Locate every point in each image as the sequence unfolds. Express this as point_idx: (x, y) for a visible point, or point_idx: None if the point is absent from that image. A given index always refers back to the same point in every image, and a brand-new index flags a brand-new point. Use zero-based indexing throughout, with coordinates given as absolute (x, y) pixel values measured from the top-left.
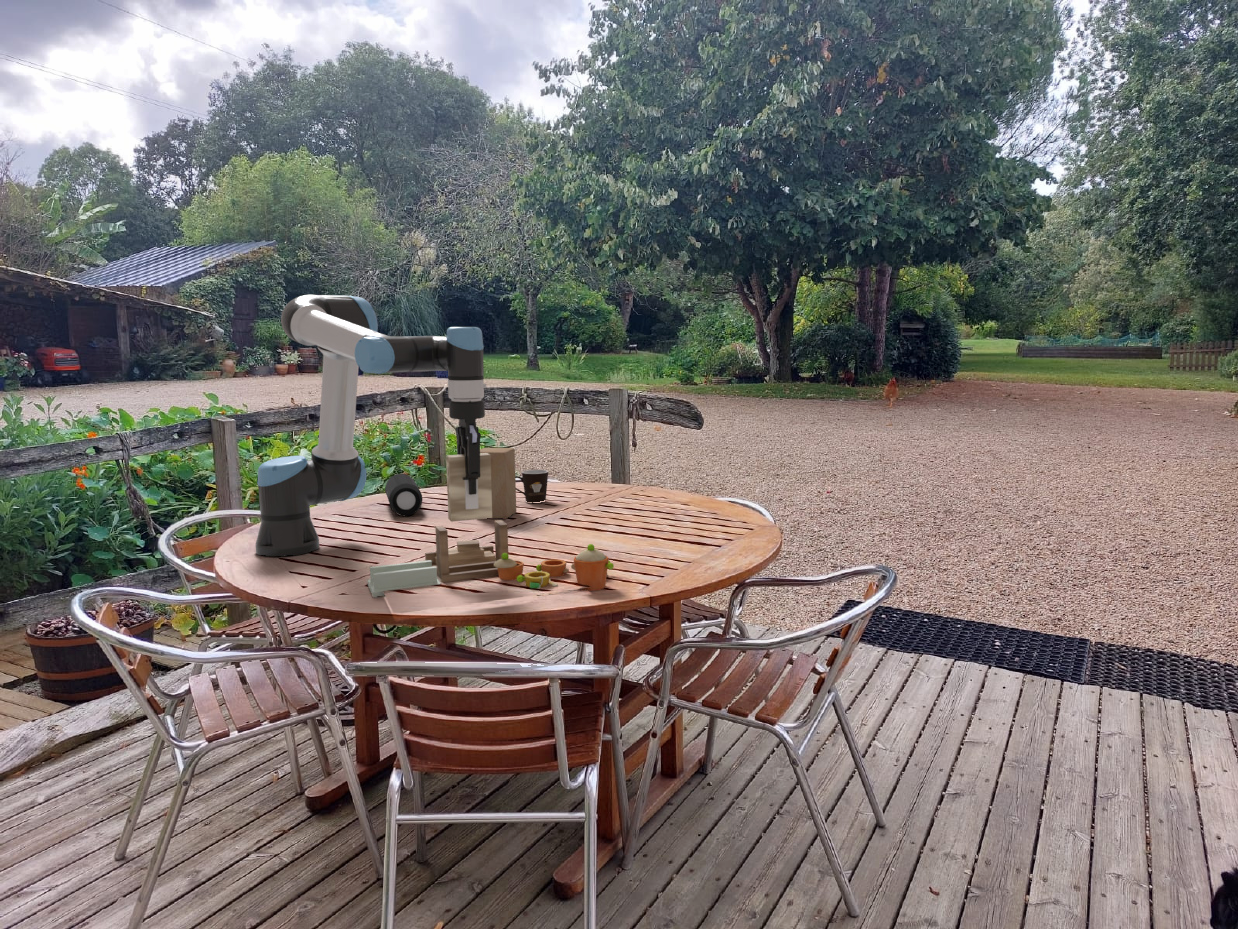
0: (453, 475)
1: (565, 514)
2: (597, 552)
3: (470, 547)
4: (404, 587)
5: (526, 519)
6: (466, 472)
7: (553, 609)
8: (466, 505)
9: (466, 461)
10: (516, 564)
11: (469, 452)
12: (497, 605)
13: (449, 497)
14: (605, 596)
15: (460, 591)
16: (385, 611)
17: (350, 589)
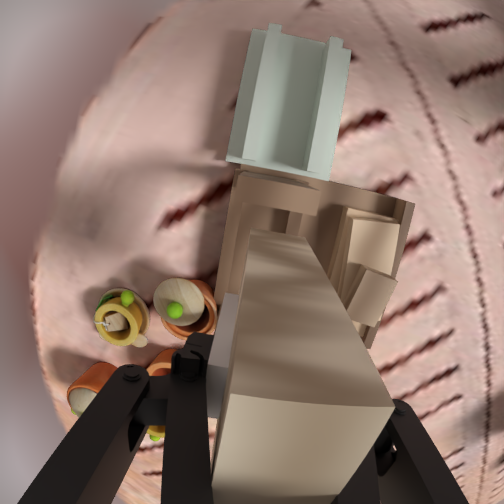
0: (237, 324)
1: (469, 468)
2: (78, 416)
3: (350, 294)
4: (246, 86)
5: (495, 430)
6: (179, 394)
7: (35, 280)
8: (223, 300)
9: (163, 451)
10: (163, 319)
11: (37, 481)
12: (79, 216)
13: (274, 256)
14: (63, 364)
15: (190, 190)
16: (156, 34)
17: (336, 21)
